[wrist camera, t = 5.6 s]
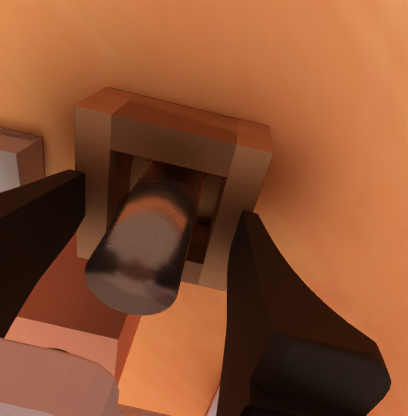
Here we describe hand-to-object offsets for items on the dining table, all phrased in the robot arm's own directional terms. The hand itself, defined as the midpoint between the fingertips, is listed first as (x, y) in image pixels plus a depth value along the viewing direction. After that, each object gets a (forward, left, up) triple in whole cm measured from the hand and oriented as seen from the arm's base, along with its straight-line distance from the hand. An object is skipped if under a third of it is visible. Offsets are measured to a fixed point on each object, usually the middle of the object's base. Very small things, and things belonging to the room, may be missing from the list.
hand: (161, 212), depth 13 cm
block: (-7, +3, -3) cm, 8 cm away
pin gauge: (0, 0, -3) cm, 3 cm away
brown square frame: (0, 0, -3) cm, 3 cm away
